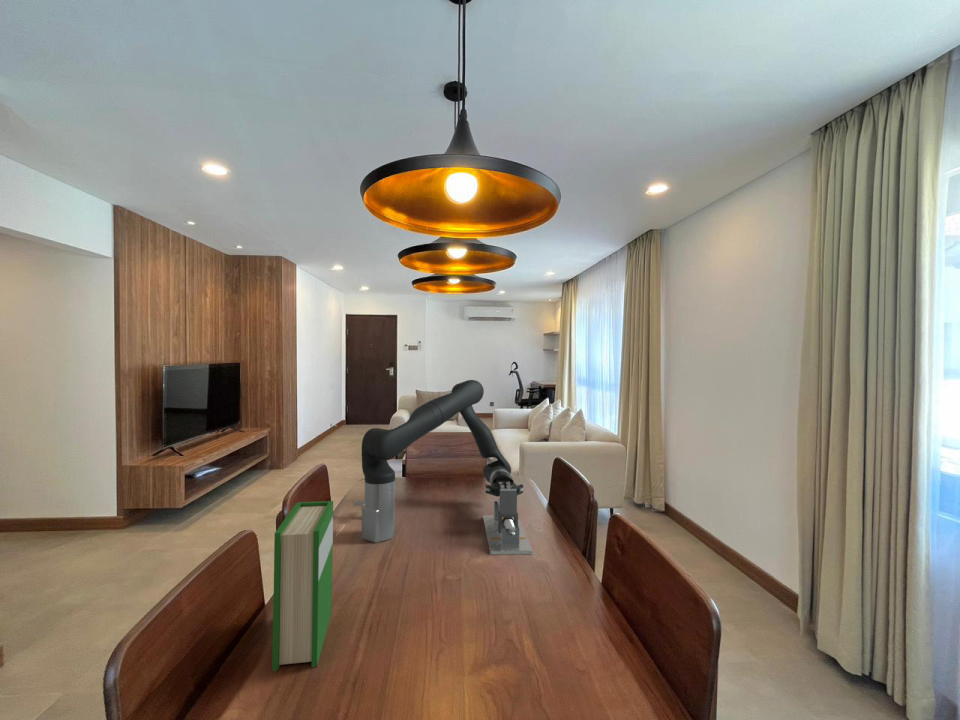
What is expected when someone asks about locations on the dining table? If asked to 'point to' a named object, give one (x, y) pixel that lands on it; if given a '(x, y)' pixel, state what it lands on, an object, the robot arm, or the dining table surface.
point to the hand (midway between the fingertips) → (507, 496)
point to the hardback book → (302, 583)
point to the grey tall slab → (507, 506)
